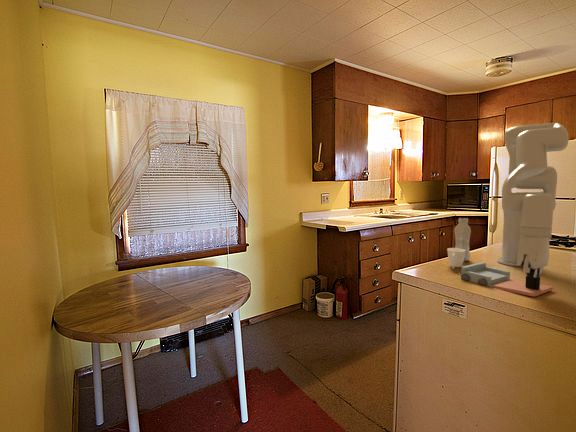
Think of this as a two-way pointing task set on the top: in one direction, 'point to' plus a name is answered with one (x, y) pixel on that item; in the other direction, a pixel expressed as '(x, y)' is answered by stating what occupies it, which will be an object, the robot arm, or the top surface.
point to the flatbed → (484, 274)
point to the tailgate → (522, 288)
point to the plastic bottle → (463, 237)
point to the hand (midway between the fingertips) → (532, 288)
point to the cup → (456, 257)
